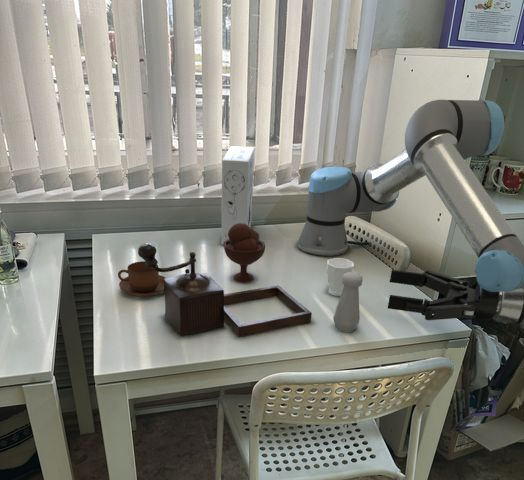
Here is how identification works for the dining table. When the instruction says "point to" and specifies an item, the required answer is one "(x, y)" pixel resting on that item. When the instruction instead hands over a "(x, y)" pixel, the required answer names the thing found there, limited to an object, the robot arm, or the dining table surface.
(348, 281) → the salt shaker
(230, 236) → the ice cream bowl
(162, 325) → the dining table surface
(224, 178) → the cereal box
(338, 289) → the cup
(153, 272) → the cup and saucer
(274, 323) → the tray
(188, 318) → the manual coffee grinder
